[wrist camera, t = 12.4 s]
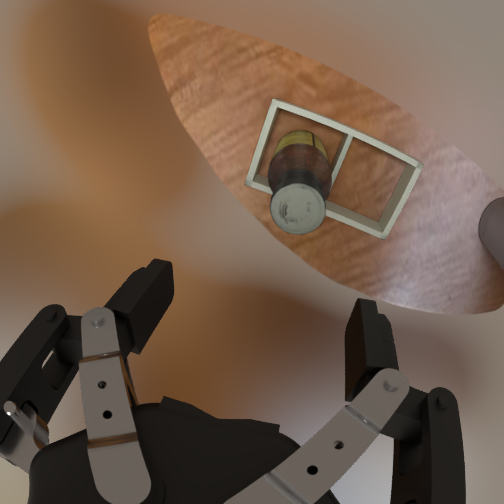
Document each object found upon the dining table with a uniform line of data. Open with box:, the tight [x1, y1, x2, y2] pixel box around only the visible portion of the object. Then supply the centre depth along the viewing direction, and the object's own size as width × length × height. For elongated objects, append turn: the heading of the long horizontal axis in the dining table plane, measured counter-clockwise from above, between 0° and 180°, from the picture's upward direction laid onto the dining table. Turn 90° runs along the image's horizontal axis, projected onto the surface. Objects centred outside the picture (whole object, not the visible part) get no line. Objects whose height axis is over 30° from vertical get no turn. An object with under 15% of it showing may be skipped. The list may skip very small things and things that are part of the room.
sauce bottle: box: [268, 130, 332, 234], centre depth 29 cm, size 7×6×20 cm
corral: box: [245, 98, 424, 240], centre depth 36 cm, size 20×12×4 cm, turn 73°
